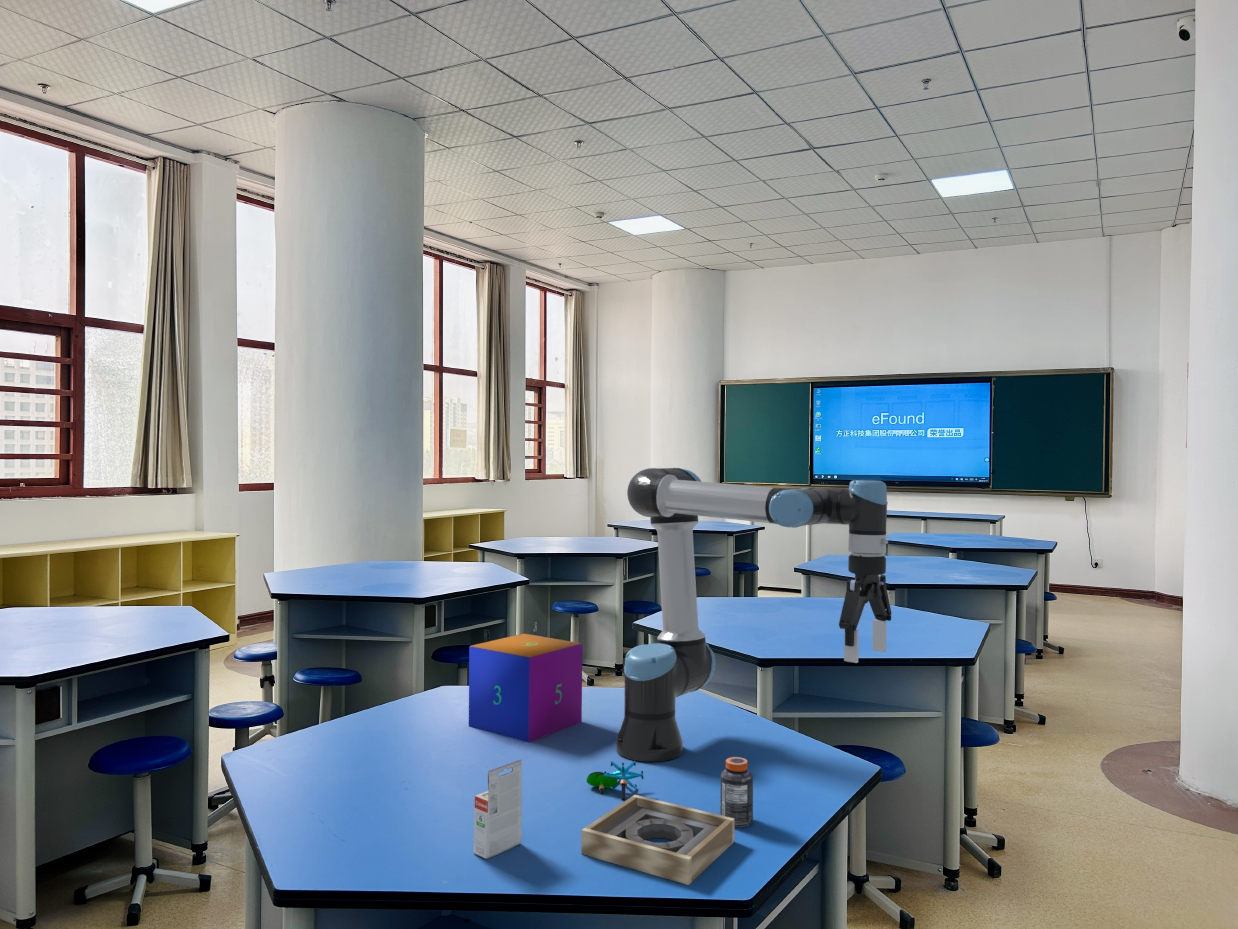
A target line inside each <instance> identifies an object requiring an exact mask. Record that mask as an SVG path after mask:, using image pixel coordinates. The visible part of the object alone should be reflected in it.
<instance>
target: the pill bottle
mask: <svg viewBox="0 0 1238 929" xmlns="http://www.w3.org/2000/svg"><path fill="white" fill-rule="evenodd" d="M748 765H749V764H748V760H747V758H743V757H739V756H732V757H728V758H727V759H726V760H725V769H724V770H722V772H721V774H720V796H719V797H720V798H719V799H720V805H719V806H720V810H719V811H720V814H719V815H722V816H726V817H730V818H734V819H735V828H745V827H746V828H747V827H748V826H750V825H751V824H753V822H754V776H753V774H752V772H751V771H750V770H748V768H749V766H748Z"/></svg>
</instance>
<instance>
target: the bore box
mask: <svg viewBox="0 0 1238 929" xmlns="http://www.w3.org/2000/svg"><path fill="white" fill-rule="evenodd" d="M735 829H736V827H735V819H734V818H730V817H726V816H722V815H721V814H718V813H713V812H708V811H704V810H700V809H697V808H693V807H688V806H684V805H680V804H676V803H672V802H667V801H662V800H659V799H654V798H651V797H645V796H642V795H638V794H634V795H632V796H630V797H629V798H628V799H625V800H624V801H623V802H622V803H620V804H619V805H617V806H616V807H614V808H613V809H611V810H610V811H608V812H606V813H605V814H604V815H602V816H600V817H599V818H598V819H596V820H595V821H593V822H592V823H590V824H588V825H586V826H585V827H584V828H582V829H581V843H580V844H581V846H580V850H581V852H580V853H581V855H584V856H588V857H590V858H594V859H597V860H601V861H604V862H608V863H612V864H615V865H618V866H622V867H626V868H628V869H633V870H634V871H638V872H642V873H644V874H645V873H646V874H650V875H652V876H656V877H659V878H663V879H667V880H669V881H673V882H677V883H680V884H684V885H686V886H690V884H692V883H693V882H694V881H695V880H696V879H697V878H698V877H699V876H700V875H701V874H703V872H705V870H706V869H707V868H709V866H710V865H711V864H712V863H713V862H715V861H716V860H717V859H718V858H719V857H720V856H721V855H722V854H723V853H724V852H726V850H727V849H728V848H730V846H732V845H733V843H734V842H735ZM649 839H667V840H671V841H667V842H652V841H649Z"/></svg>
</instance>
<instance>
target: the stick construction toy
mask: <svg viewBox="0 0 1238 929" xmlns="http://www.w3.org/2000/svg"><path fill="white" fill-rule="evenodd" d="M636 761H637V760H633V762H631V763H630V764H629V765H627V766H626V767H625V763H624V762H621V766H620V765H618V764H617V763H616V762H614V761H613V760H611V761H610V766H611V767H614V768H616V770H618V771H616V772H612V773H610V772H607V771H605V770H604V771H593V772H591V773H589V774H588V775H587V777H586V783H587V784H588V785H589V786H592V787H596V788H599V794H601V795H603V794H604V790H605V789H610V788H611V789H612V790H615V789H617V787H619V786H620V787H621V798H620V799H621V801H626V793H627V792H626V788H627V786H628V785H629V786H630V787H631V788H632V789H634V790H637V789H638V786H637V785H638V784H634V783H633V782H631V781H630V780H632V779H636V778H641V780H644V771H643V770H641V771H640V773H639V772H632V771H630V769H631V768H632V767H633V766H637V764H636V763H637V762H636Z"/></svg>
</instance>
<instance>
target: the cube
mask: <svg viewBox="0 0 1238 929" xmlns="http://www.w3.org/2000/svg"><path fill="white" fill-rule="evenodd" d="M468 653H469V654H468V658H469V660H468V727H470V728H474V729H478V730H482V731H485V732H488V733H493V734H496V735H500V736H503V737H508V738H512V739H516V740H519V741H523V742H526V743H531V742H533V741H536V740H538V739H541V738H543V737H546V736H549V735H552V734H554V733H557V732H559V731H562V730H565V729H567V728H570V727H572V726H574V725H577V724H580V723H582V722H583V718H582V716H583V714H582V713H583V712H582V711H583V709H582V708H583V643H582V642H577V641H571V640H570V641H569V640H564V639H557V638H552V637H545V636H541V635H535V634H528V633H521V634H515V635H512V636H508V637H503V638H499V639H494V640H490V641H486V642H481V643H476V644H473V645H470V646H469V650H468Z"/></svg>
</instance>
